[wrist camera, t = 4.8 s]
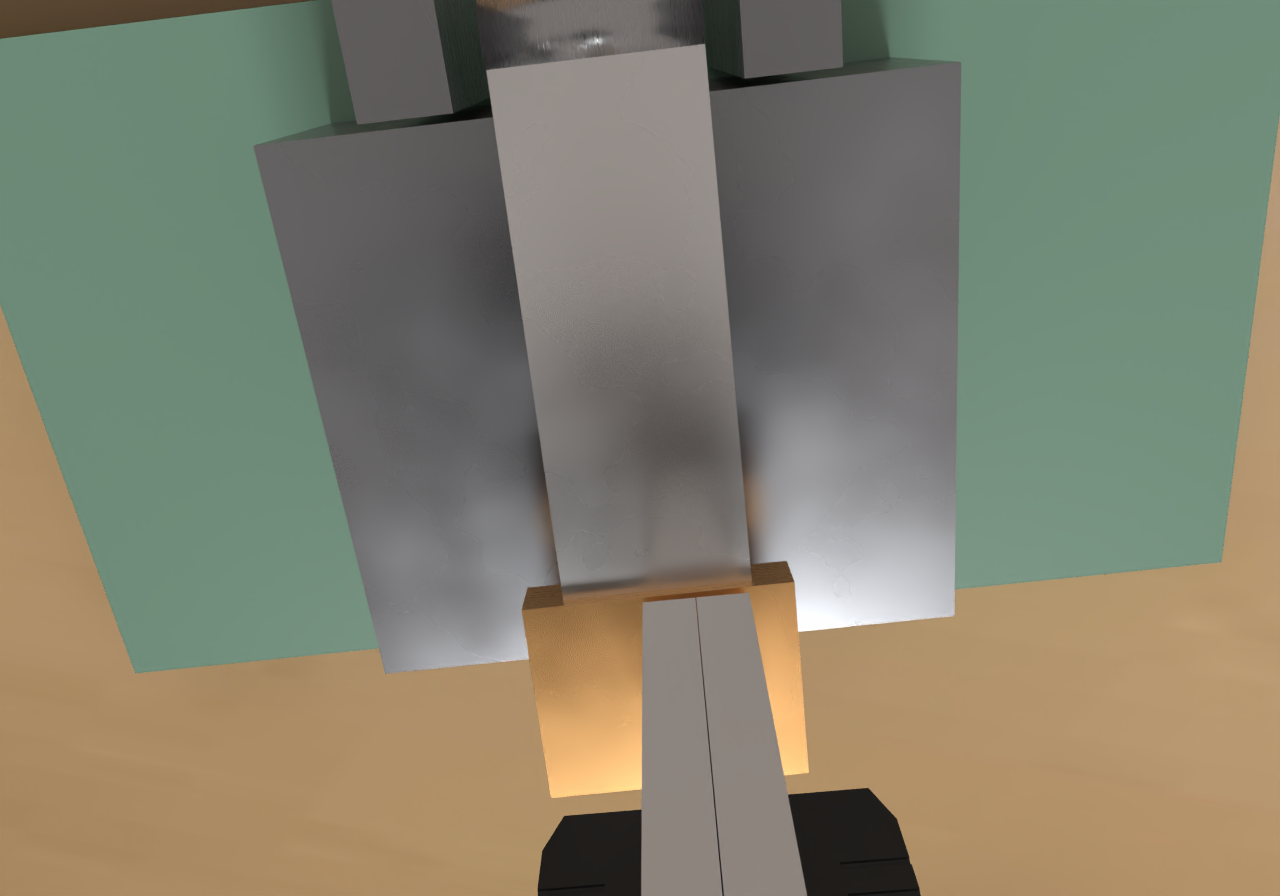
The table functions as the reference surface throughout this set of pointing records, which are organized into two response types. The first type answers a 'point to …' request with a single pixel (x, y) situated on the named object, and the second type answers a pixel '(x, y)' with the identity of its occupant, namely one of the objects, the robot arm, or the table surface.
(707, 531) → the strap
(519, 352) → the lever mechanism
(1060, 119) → the board
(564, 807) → the table surface
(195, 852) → the table surface
